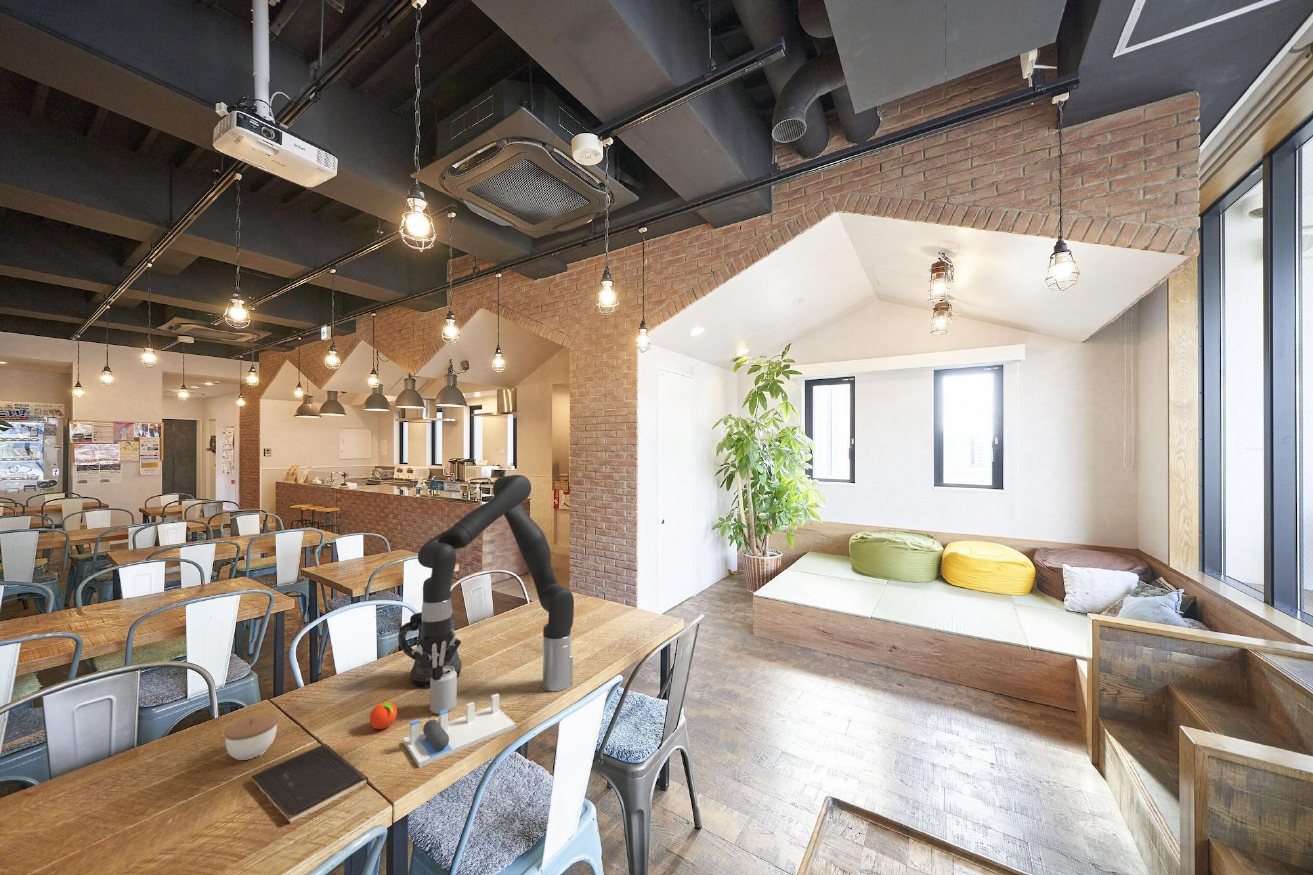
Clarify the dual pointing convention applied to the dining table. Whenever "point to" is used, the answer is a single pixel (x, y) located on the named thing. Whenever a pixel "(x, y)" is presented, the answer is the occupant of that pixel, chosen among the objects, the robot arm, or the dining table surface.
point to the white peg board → (459, 732)
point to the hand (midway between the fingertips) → (436, 679)
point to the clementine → (383, 715)
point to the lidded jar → (251, 736)
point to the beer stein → (419, 671)
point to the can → (443, 691)
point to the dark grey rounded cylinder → (436, 734)
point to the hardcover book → (309, 781)
